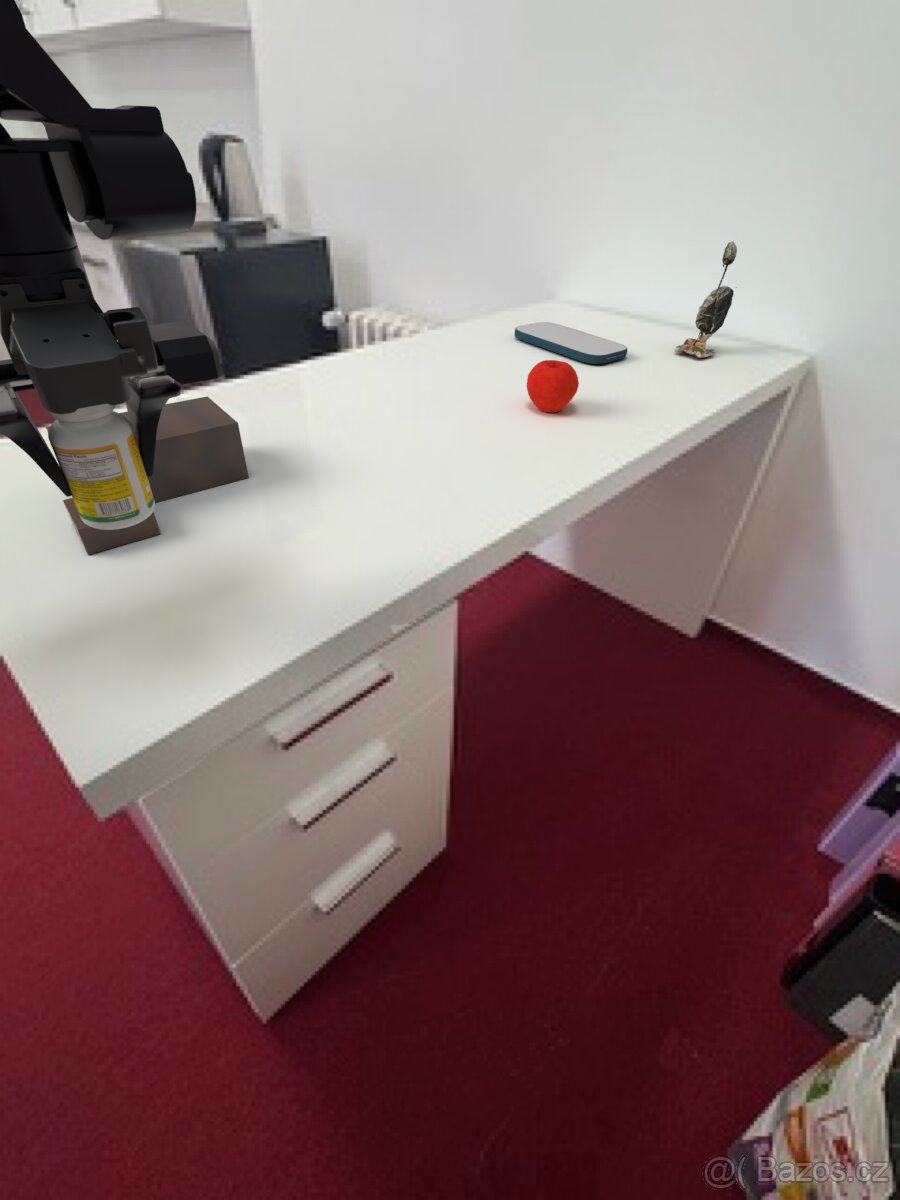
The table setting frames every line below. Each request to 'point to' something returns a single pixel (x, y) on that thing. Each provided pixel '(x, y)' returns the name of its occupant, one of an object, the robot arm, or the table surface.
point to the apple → (552, 385)
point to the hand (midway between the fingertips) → (109, 484)
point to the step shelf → (178, 465)
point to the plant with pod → (712, 312)
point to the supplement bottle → (102, 467)
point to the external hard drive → (571, 342)
